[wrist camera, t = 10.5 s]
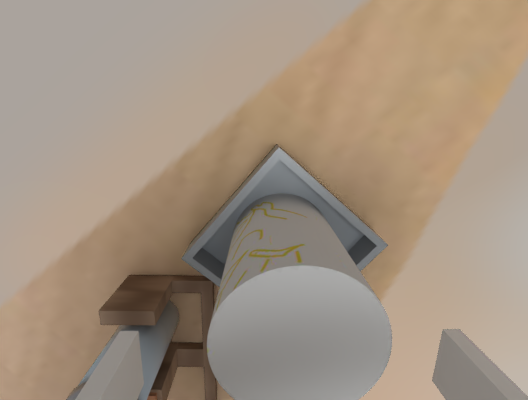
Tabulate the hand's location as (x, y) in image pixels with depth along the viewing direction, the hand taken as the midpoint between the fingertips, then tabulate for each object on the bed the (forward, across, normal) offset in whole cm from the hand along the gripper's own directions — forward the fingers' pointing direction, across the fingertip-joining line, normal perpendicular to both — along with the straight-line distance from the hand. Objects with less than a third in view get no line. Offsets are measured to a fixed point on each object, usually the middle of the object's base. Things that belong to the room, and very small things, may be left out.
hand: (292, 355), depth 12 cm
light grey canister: (+12, +1, 0) cm, 12 cm away
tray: (+13, +1, 0) cm, 13 cm away
